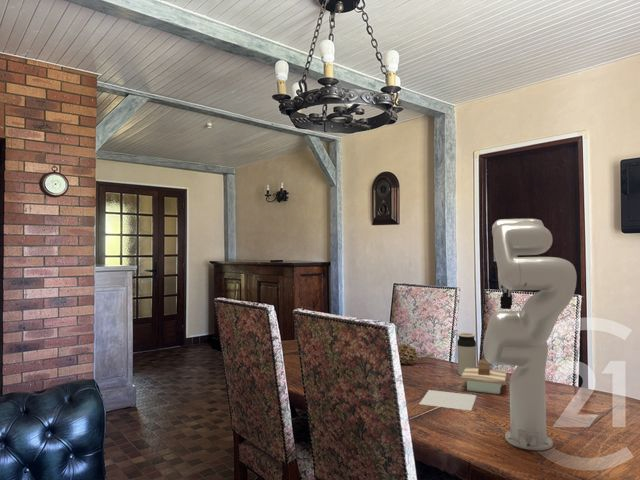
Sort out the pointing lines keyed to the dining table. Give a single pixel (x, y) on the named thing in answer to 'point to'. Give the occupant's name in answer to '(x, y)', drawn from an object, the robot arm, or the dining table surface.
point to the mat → (448, 400)
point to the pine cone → (409, 354)
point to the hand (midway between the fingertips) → (506, 307)
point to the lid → (484, 374)
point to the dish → (483, 387)
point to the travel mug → (466, 352)
